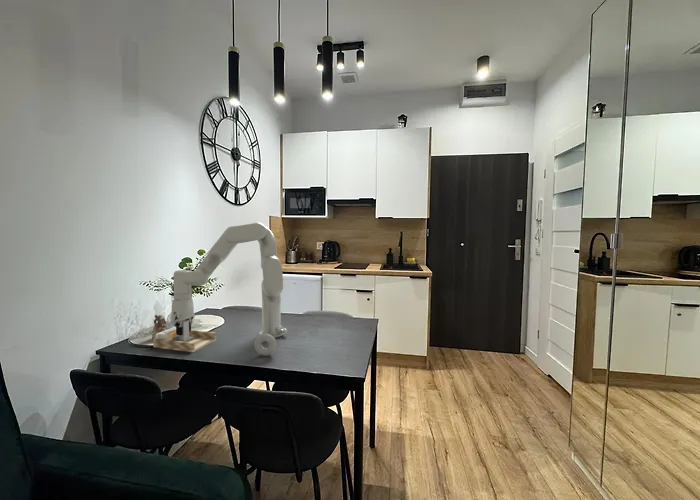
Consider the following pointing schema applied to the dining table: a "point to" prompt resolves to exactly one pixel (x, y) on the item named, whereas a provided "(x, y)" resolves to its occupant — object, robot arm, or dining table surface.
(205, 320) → the dining table surface
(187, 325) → the striker
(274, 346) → the donut
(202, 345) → the wooden tray
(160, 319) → the figurine
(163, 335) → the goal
